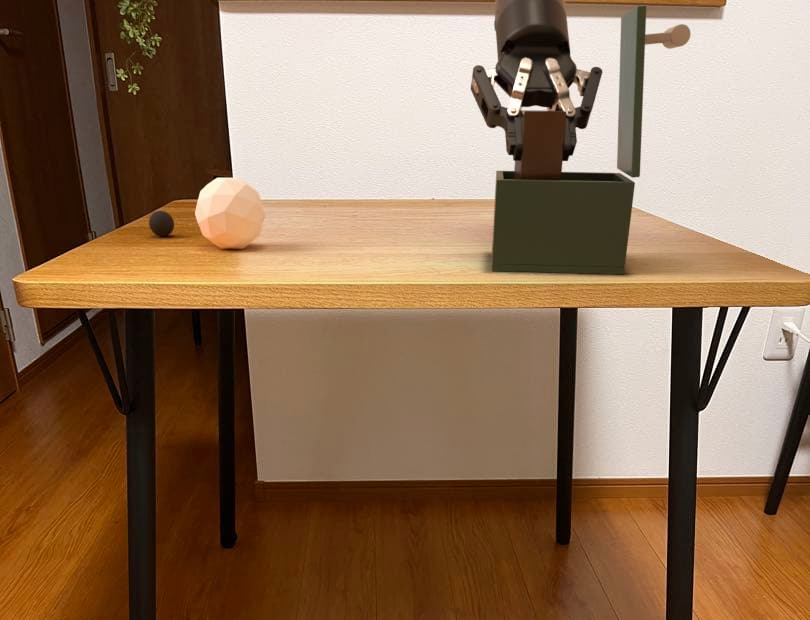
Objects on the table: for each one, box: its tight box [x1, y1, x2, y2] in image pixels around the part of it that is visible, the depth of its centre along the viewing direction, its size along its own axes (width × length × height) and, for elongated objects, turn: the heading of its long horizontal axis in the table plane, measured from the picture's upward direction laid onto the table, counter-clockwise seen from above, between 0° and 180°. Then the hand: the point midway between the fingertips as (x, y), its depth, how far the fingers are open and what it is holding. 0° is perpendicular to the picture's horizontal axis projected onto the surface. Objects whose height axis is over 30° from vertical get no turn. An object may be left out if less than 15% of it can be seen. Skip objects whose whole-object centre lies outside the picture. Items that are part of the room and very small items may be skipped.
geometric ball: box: [194, 177, 266, 250], centre depth 100 cm, size 8×8×8 cm
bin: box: [491, 170, 636, 275], centre depth 93 cm, size 13×11×9 cm
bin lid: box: [616, 4, 691, 179], centre depth 86 cm, size 14×11×5 cm
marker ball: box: [148, 210, 175, 237], centre depth 108 cm, size 3×3×3 cm
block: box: [513, 109, 567, 180], centre depth 90 cm, size 4×4×9 cm
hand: (542, 154), depth 88 cm, fingers closed on block, 4 cm apart
